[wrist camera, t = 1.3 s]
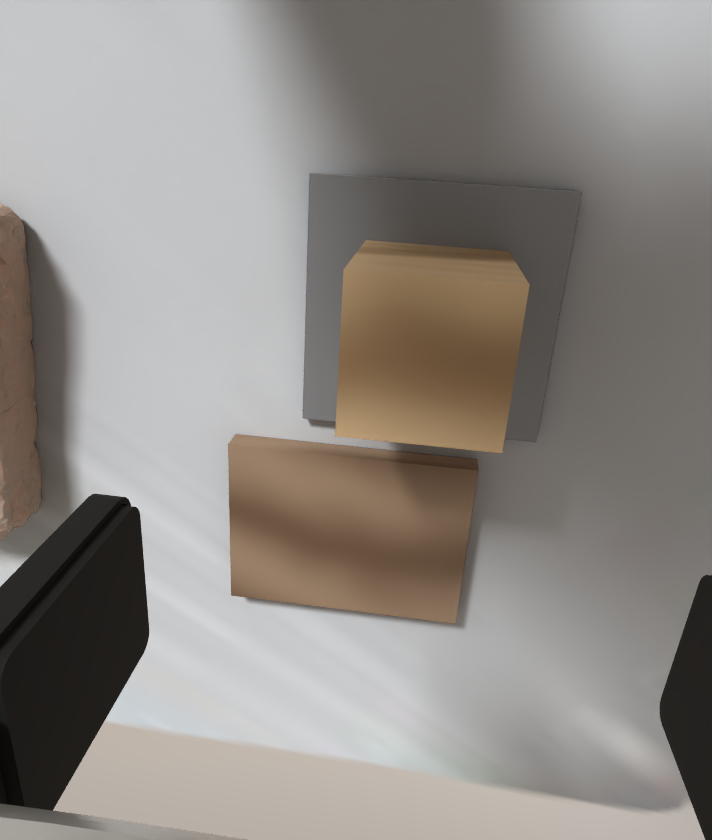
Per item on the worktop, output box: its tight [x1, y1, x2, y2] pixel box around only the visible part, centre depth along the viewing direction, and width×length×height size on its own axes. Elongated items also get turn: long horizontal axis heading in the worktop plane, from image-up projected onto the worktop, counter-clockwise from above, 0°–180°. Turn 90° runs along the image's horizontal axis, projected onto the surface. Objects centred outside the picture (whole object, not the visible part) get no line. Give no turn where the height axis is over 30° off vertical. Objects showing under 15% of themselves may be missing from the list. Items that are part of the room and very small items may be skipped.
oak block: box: [335, 240, 530, 453], centre depth 26 cm, size 6×6×7 cm
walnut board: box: [228, 434, 478, 624], centre depth 34 cm, size 9×12×1 cm
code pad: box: [303, 173, 582, 442], centre depth 29 cm, size 11×11×1 cm
